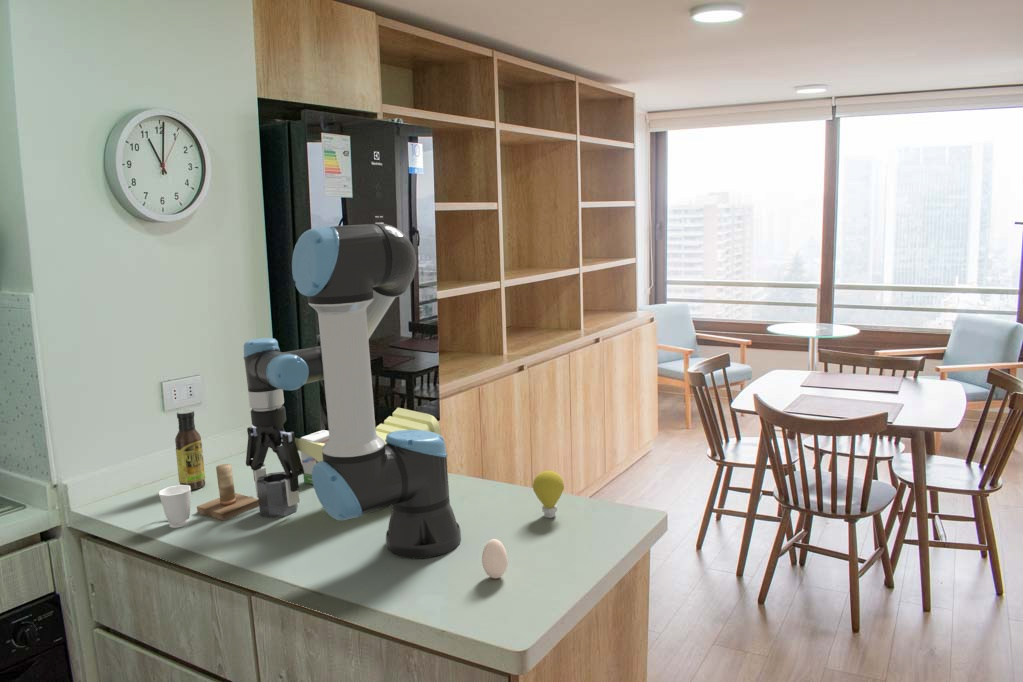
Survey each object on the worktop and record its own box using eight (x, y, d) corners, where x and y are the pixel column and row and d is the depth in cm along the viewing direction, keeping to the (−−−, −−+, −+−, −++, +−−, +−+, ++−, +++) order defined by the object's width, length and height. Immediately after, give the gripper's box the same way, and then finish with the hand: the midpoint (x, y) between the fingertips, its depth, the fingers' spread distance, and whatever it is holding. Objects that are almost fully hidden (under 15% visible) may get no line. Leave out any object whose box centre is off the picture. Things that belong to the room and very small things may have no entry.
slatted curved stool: (341, 528, 173) (333, 449, 169) (301, 511, 183) (293, 437, 180) (445, 487, 194) (439, 416, 191) (403, 474, 205) (397, 407, 202)
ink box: (316, 485, 200) (312, 440, 198) (303, 482, 203) (298, 438, 201) (341, 475, 207) (337, 431, 205) (327, 472, 210) (323, 429, 208)
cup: (170, 532, 175) (166, 497, 174) (151, 522, 182) (146, 488, 181) (201, 522, 180) (197, 488, 179) (181, 512, 187) (177, 479, 186)
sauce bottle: (190, 493, 200) (180, 416, 197) (175, 489, 203) (164, 413, 200) (212, 484, 205) (202, 409, 202) (196, 481, 209) (186, 407, 205)
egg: (478, 580, 145) (475, 542, 144) (492, 569, 149) (489, 532, 148) (499, 585, 143) (497, 546, 141) (513, 574, 147) (511, 536, 145)
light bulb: (571, 514, 173) (569, 470, 171) (551, 524, 168) (549, 479, 167) (548, 507, 178) (545, 464, 176) (528, 517, 173) (525, 472, 171)
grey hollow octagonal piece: (304, 508, 185) (300, 475, 184) (276, 520, 179) (272, 486, 178) (282, 502, 190) (278, 470, 189) (253, 513, 184) (249, 480, 182)
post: (260, 505, 189) (255, 463, 187) (223, 520, 181) (217, 476, 179) (234, 498, 194) (229, 457, 193) (197, 512, 186) (191, 469, 185)
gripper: (314, 408, 177) (324, 503, 180) (249, 398, 190) (260, 486, 194) (287, 416, 171) (297, 514, 174) (222, 405, 184) (233, 496, 188)
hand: (278, 500), depth 184 cm, fingers open, 10 cm apart
